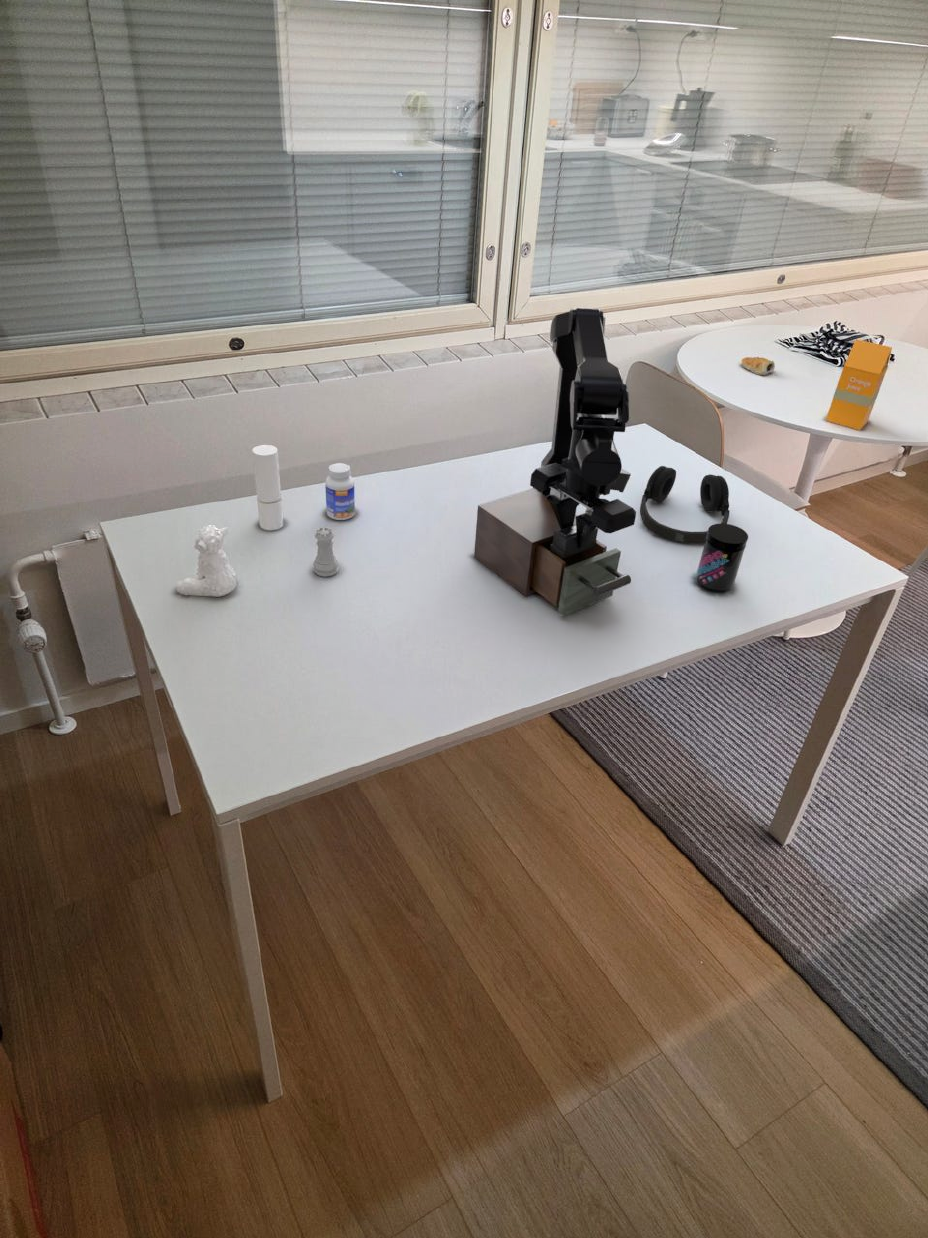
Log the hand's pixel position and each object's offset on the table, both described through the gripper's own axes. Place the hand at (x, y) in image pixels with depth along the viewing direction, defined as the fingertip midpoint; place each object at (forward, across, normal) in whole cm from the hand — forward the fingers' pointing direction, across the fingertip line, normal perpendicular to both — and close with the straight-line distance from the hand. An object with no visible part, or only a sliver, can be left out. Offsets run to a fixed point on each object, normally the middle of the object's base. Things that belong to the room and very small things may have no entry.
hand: (574, 542), depth 136 cm
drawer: (+9, -1, 0) cm, 9 cm away
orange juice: (+11, +20, -116) cm, 118 cm away
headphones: (+10, +7, -38) cm, 40 cm away
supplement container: (+10, -12, -25) cm, 29 cm away
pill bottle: (+10, +44, +19) cm, 49 cm away
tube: (+10, +46, +32) cm, 57 cm away
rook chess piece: (+10, +28, +31) cm, 43 cm away
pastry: (+11, +56, -126) cm, 138 cm away
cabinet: (+10, +10, 0) cm, 15 cm away
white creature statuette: (+10, +32, +49) cm, 60 cm away
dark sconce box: (+1, 0, 0) cm, 1 cm away
